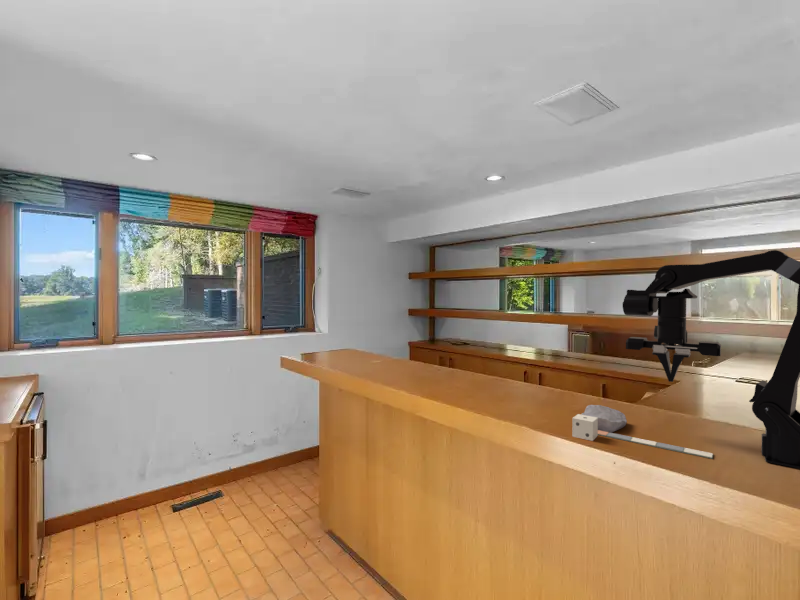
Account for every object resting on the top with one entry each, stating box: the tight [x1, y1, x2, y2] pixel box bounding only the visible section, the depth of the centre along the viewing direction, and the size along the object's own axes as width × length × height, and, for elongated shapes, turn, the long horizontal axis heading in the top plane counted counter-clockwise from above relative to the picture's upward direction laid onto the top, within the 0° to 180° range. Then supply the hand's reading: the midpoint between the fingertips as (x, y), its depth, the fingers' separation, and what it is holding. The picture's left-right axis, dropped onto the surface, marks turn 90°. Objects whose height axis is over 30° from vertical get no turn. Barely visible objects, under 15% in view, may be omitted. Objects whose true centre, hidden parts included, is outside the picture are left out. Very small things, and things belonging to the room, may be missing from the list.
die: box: [571, 413, 599, 442], centre depth 95 cm, size 4×4×4 cm
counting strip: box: [598, 430, 714, 460], centre depth 91 cm, size 25×3×1 cm, turn 50°
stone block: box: [581, 404, 628, 433], centre depth 104 cm, size 12×5×10 cm
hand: (670, 381), depth 97 cm, fingers closed
